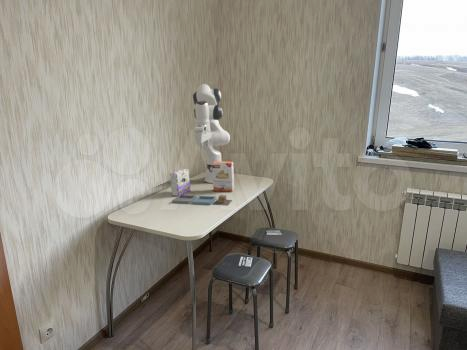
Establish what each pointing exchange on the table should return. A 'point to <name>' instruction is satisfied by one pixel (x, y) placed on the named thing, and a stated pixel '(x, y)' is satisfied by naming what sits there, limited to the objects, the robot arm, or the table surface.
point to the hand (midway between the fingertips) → (204, 147)
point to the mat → (222, 203)
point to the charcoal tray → (184, 199)
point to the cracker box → (223, 176)
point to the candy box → (180, 182)
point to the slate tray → (204, 200)
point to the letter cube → (222, 198)
